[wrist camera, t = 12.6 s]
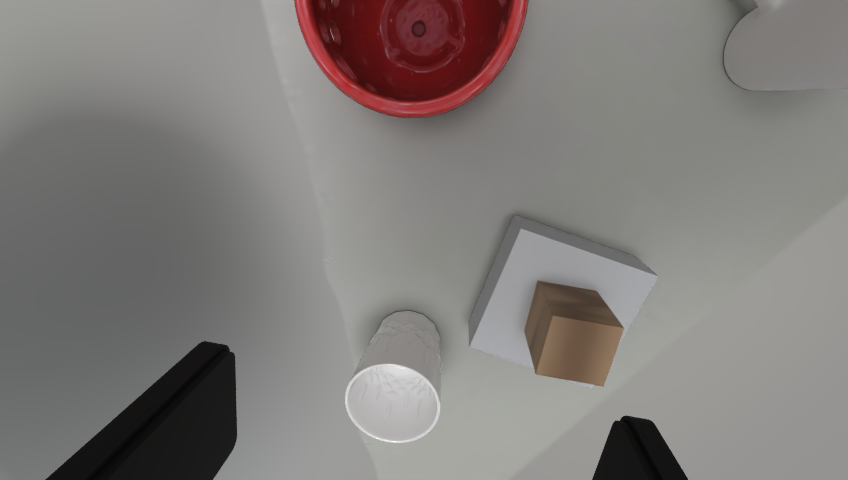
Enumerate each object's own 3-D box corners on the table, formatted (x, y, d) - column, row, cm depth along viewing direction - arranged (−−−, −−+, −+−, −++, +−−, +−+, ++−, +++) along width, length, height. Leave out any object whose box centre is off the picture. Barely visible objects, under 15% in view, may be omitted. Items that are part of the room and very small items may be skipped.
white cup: (400, 381, 44) (383, 456, 34) (356, 328, 42) (325, 392, 32) (460, 348, 42) (459, 418, 32) (416, 291, 40) (401, 347, 30)
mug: (833, 48, 30) (1056, 11, 19) (750, 113, 32) (907, 115, 21) (758, -61, 28) (953, -172, 17) (675, 15, 30) (802, -41, 19)
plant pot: (376, 133, 35) (335, 144, 24) (327, -30, 32) (251, -107, 20) (522, 90, 33) (553, 80, 22) (487, -91, 29) (501, -215, 18)
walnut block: (596, 290, 33) (624, 328, 28) (580, 341, 35) (603, 386, 29) (537, 280, 33) (552, 315, 28) (523, 331, 35) (535, 374, 29)
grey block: (634, 255, 37) (659, 276, 32) (577, 356, 41) (592, 389, 36) (513, 213, 37) (521, 228, 32) (468, 319, 41) (469, 347, 36)
